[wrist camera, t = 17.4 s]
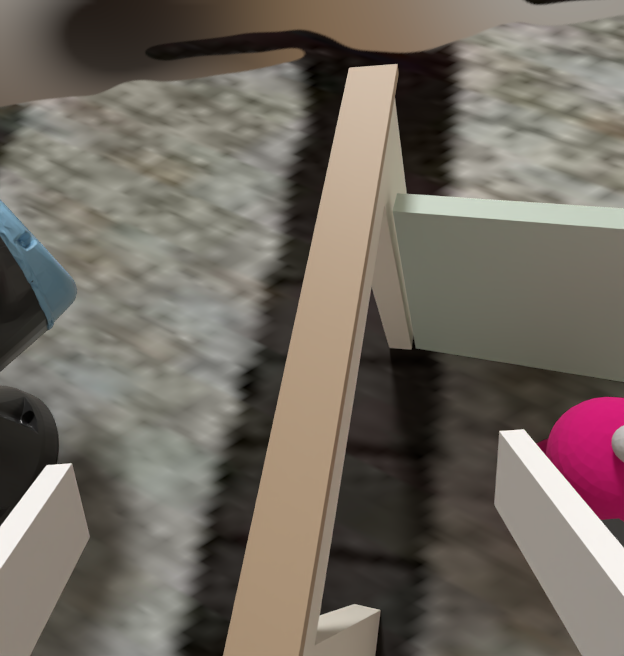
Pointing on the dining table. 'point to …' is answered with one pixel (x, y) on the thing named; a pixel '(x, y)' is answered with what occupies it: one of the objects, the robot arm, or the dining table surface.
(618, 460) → the pepper mill
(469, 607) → the dining table surface
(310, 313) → the door frame
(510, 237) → the door
